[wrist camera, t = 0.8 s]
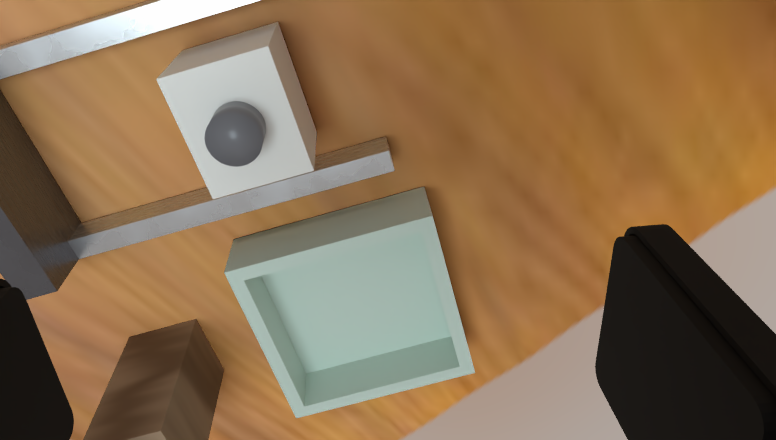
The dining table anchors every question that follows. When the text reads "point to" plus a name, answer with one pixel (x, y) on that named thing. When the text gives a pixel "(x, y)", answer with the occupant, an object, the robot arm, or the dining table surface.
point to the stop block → (161, 388)
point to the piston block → (241, 110)
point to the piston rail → (79, 240)
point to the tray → (352, 303)
